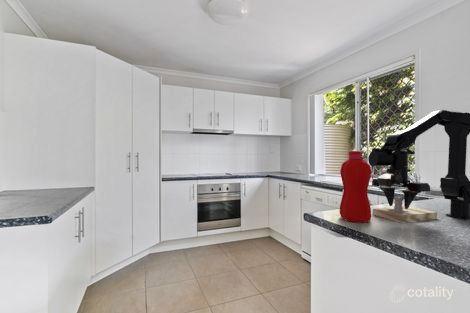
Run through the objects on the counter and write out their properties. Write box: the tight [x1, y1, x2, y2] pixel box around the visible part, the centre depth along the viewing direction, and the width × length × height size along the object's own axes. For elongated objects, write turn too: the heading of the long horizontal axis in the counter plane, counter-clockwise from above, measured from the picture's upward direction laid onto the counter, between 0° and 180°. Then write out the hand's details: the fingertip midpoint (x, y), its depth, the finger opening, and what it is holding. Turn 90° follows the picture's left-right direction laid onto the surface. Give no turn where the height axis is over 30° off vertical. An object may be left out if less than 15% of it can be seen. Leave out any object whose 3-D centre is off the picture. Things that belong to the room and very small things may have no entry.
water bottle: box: [339, 150, 374, 223], centre depth 86 cm, size 9×11×25 cm
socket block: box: [371, 205, 438, 224], centre depth 91 cm, size 18×12×2 cm, turn 109°
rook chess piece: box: [393, 195, 404, 213], centre depth 90 cm, size 4×4×8 cm
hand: (398, 207), depth 90 cm, fingers open, 6 cm apart
